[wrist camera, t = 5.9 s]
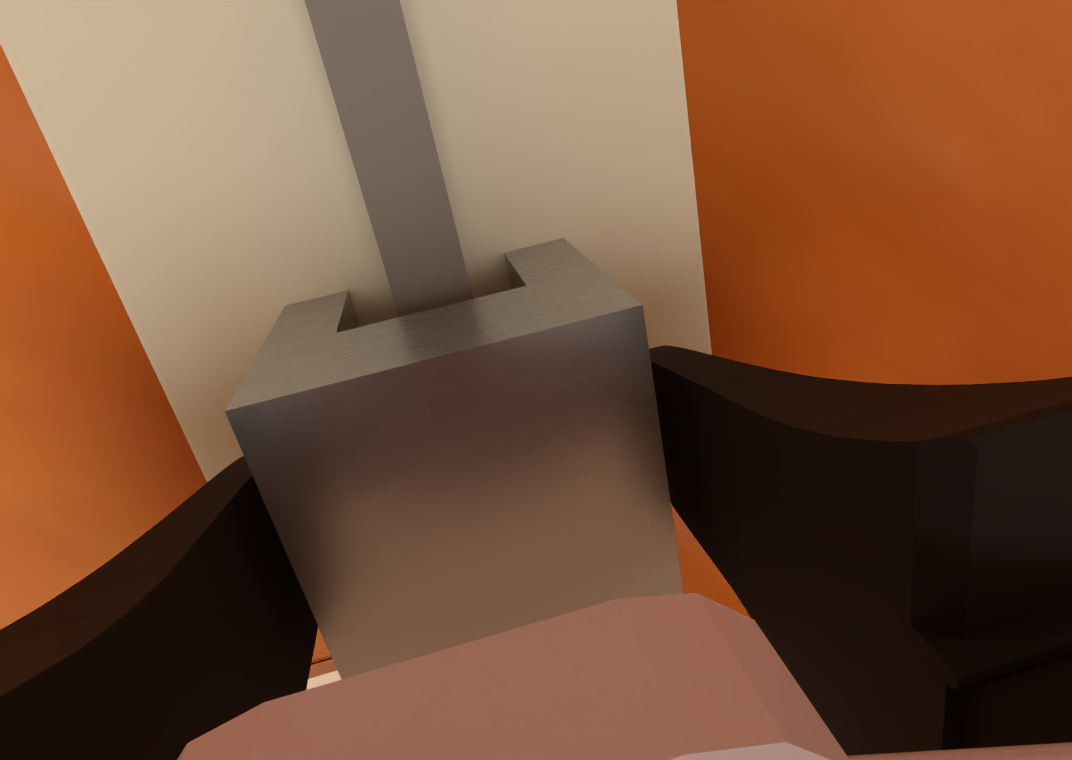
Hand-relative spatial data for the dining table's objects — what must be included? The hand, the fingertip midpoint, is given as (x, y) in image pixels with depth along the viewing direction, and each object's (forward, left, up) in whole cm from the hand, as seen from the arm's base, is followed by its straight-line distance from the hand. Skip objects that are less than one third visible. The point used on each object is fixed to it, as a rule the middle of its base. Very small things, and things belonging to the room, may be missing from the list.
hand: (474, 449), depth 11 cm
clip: (0, 0, -2) cm, 2 cm away
